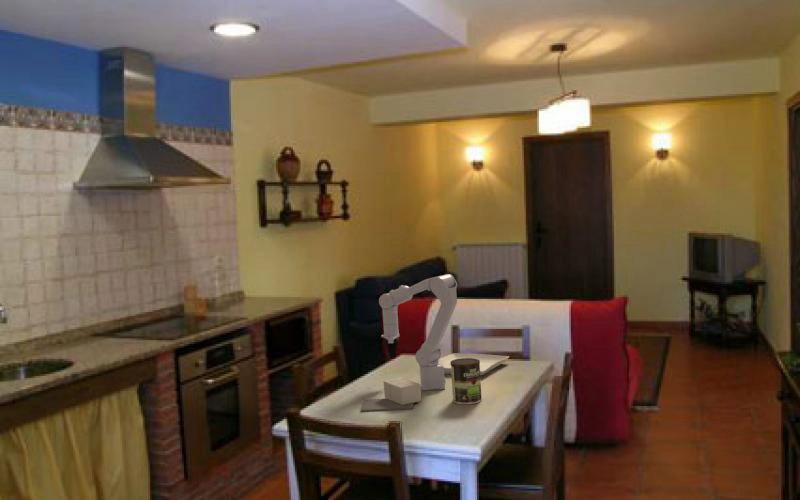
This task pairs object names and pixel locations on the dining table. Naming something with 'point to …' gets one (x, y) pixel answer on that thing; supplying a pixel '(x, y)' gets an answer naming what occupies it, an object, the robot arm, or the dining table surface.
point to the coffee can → (466, 381)
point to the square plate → (485, 360)
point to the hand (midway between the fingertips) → (393, 357)
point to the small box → (402, 391)
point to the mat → (383, 405)
